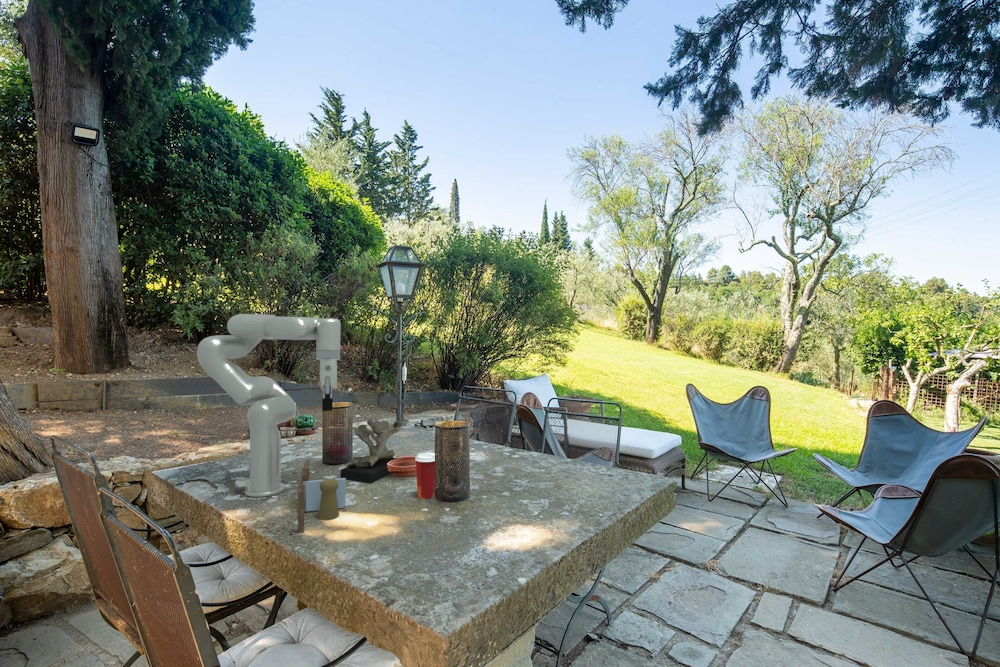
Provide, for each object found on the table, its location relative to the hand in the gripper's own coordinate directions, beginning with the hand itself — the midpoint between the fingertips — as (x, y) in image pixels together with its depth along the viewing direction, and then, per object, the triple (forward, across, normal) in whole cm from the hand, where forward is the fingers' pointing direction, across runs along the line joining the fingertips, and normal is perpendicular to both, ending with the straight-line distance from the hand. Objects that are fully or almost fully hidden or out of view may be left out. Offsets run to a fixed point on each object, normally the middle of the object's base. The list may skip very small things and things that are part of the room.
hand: (327, 410), depth 159 cm
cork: (+29, -17, -1) cm, 34 cm away
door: (+29, -12, 0) cm, 31 cm away
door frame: (+29, -14, +6) cm, 33 cm away
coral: (+29, +22, -20) cm, 42 cm away
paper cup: (+29, -8, -32) cm, 44 cm away
